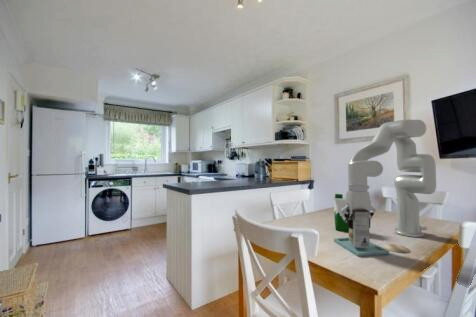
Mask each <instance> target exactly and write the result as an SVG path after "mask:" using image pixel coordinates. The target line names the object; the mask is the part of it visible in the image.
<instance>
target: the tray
mask: <svg viewBox="0 0 476 317" xmlns="http://www.w3.org/2000/svg"><path fill="white" fill-rule="evenodd" d="M333 242H334V243H335V244H336V245H339V246H340V247H342V248H343V249H345V250H347V251H348V252H350V253H352V254H353V255H355V256H356V257H358V258H361V257H363V258H364V257H375V256H387V255H390V250H387V249H385V247H382V246H380V245H377V244H375V243H373V242H372V241H370V248H356V247H354V246H353V244H352V243H351V242H350V241H349V237H336V238H333Z"/></svg>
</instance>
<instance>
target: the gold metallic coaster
mask: <svg viewBox="0 0 476 317" xmlns="http://www.w3.org/2000/svg"><path fill="white" fill-rule="evenodd" d="M383 248H384V249H386V250H388V251H389V252H393V253H398V254H400V253H401V254H408V253H410V248H408V247H406V246H404V245H403V246H402V245H401V244H394V243H387V244H384V246H383Z"/></svg>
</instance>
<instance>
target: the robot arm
mask: <svg viewBox="0 0 476 317" xmlns="http://www.w3.org/2000/svg"><path fill="white" fill-rule="evenodd" d="M426 131H427V125H426V123H425V122H424V121H423V120H421V119H401V120H400V119H399V120H393V121H386V122H384V123H381V125H380V126H379V127H378V129H377V131H376V133H375V135H374V136H373V138H372V140H371V142H370V143H368V144H366V145H365V146H363V147H362V148H360V149H359V150H358V151H357V152H356V153H354V155H353V156H352V157H351V160H350V161H349V162H348V164H347V170H348V172H347V173H348V178H347V179H348V191H346V194H345V197H346V198H345V207H344V208H342V209H341V210H340V211H341V213H342V214H343V216H344V217H345V218H346V219H347V227H348V228H350V229H353V220H351V219H352V214H353V210H365V209H366V210H368V211H369V229H371V220H372V218H373V216H374V214H375V212H376V211H377V209H376V208H375V207H374V206H372V201H371V196H370V193H369V191H368V189H370V185H368V178H376V177H378V176H380V175H382V173H383V172H384V166H383V164H382V163H381V162H379V161H378V160H370V159H373V158H375V157H379V156H381V155H385V154H386V153H388V152H389V151H390V150H391V147H392V145H393V144H394V145H395V147H396V164H397V169H398V170H399V171H400V172H404V173H419V174H399V175H397V176H396V177H395V179H394V187H395V192H396V216H397V218H396V220H397V221H396V222H397V228H394V230H393V231H394V233H396V234H398V235H401V236H405V237H412V238H422V237H424V232H422V231H426V230H428V226H426V225H421V224H420V200H419V199H418V197H417V195H415V194H422V195H433V194H434V193H435V192H436V189H437V168H436V165H437V164H436V161H435V157H433V156H432V155H431V154H429V153H422V154H421V153H418V152H417V145H416V143H415V141H414V140H413V139H412V138H419V137H423V136H424V135H425V134H426ZM346 212H347V214H346Z"/></svg>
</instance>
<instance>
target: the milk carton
mask: <svg viewBox="0 0 476 317" xmlns="http://www.w3.org/2000/svg"><path fill="white" fill-rule="evenodd" d="M345 198H346V196H343V194H342V193H335V194H334V199H333V201H334V205H333V206H334V210H333V211H334V226H335V231H339V232H345V233H346V232H347V233H349V228H348V227H347V219H346V218H345V217H344V216H343V214H342V213H341V211H340V210H341V209H342V208H344V207H345ZM346 214H347V212H346Z"/></svg>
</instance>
